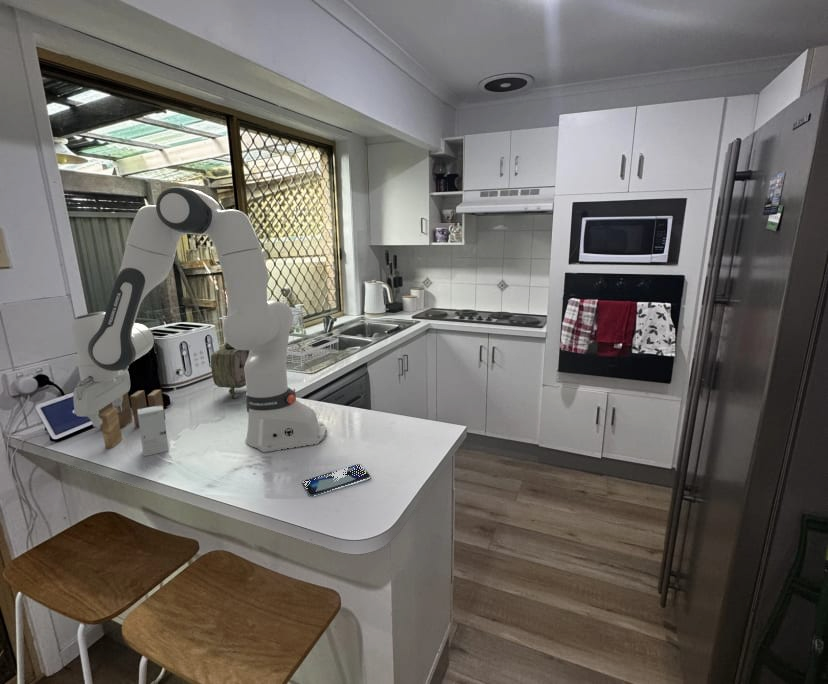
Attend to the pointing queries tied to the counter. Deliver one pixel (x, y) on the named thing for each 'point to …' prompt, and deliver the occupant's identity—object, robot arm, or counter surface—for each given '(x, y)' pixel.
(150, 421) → the skincare box
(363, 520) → the counter surface
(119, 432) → the oak domino
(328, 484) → the smartphone
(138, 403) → the domino
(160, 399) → the domino
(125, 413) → the domino
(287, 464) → the counter surface
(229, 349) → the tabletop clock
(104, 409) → the domino
